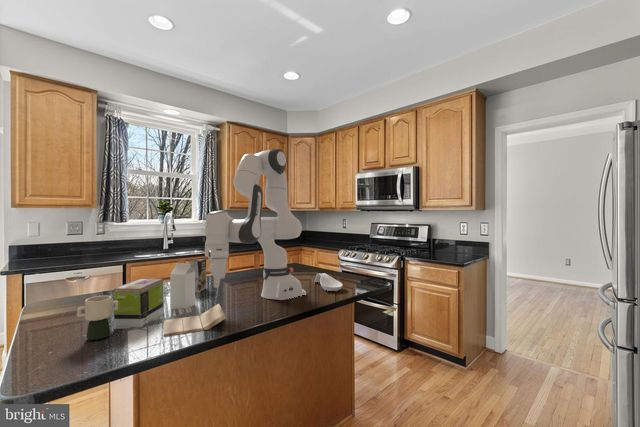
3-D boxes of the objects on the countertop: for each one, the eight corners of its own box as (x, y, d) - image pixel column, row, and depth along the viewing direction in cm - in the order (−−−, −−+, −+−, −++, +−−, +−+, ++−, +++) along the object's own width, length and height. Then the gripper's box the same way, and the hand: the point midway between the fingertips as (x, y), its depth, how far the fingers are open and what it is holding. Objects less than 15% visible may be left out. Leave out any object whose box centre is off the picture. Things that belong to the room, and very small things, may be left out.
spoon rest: (346, 292, 157) (346, 278, 157) (326, 294, 152) (327, 280, 152) (325, 282, 178) (326, 270, 178) (307, 284, 173) (307, 272, 173)
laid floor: (198, 319, 115) (198, 315, 115) (202, 332, 103) (202, 328, 103) (164, 324, 110) (164, 320, 110) (163, 338, 98) (163, 334, 98)
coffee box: (199, 292, 153) (200, 261, 153) (187, 292, 153) (187, 261, 153) (206, 288, 162) (207, 258, 162) (195, 288, 163) (195, 258, 162)
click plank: (220, 306, 119) (218, 303, 119) (226, 317, 107) (224, 314, 106) (201, 318, 116) (199, 315, 116) (204, 331, 103) (202, 328, 103)
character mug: (115, 330, 104) (115, 293, 104) (120, 336, 99) (120, 297, 99) (75, 339, 97) (75, 299, 97) (78, 346, 92) (78, 304, 92)
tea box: (139, 314, 120) (140, 278, 120) (164, 315, 120) (164, 278, 120) (112, 329, 105) (113, 287, 105) (140, 329, 105) (141, 287, 105)
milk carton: (184, 310, 126) (185, 265, 126) (170, 309, 127) (170, 264, 127) (195, 305, 133) (195, 262, 133) (180, 304, 134) (181, 261, 134)
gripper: (205, 249, 126) (205, 283, 125) (211, 254, 107) (210, 293, 107) (221, 249, 128) (221, 281, 128) (229, 253, 110) (228, 291, 109)
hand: (216, 287), depth 117 cm, fingers closed
